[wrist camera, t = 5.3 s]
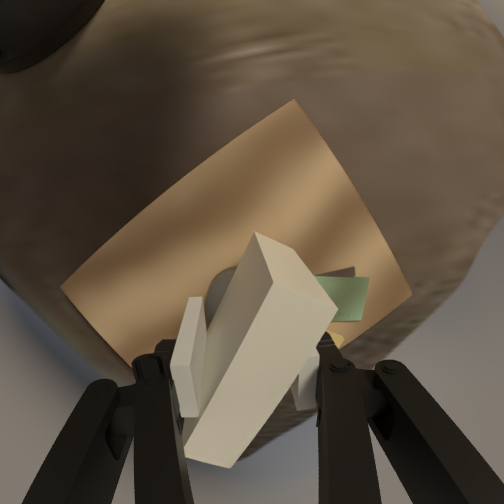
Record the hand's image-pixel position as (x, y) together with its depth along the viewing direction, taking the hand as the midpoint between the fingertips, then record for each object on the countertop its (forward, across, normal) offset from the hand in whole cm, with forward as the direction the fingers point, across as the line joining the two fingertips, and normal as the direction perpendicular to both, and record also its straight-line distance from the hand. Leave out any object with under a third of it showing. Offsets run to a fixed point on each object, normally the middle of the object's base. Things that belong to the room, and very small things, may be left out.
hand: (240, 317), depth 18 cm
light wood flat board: (+5, 0, 0) cm, 5 cm away
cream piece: (+3, +2, -1) cm, 4 cm away
